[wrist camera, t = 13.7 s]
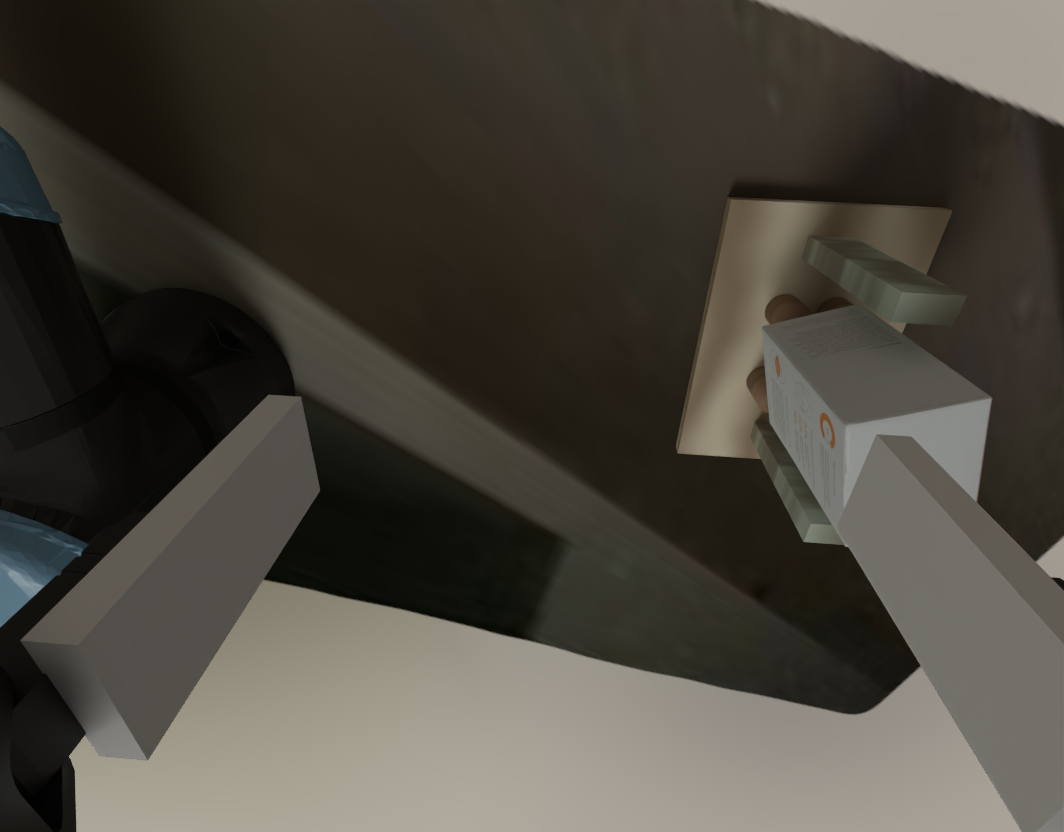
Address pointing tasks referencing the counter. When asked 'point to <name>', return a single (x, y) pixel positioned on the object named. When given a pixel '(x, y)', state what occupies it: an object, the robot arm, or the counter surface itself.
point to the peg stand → (800, 315)
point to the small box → (866, 401)
